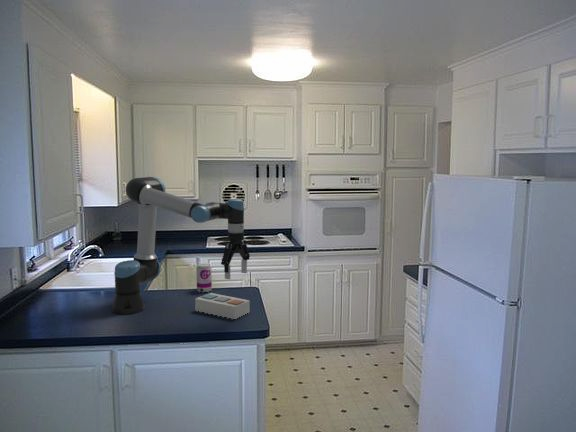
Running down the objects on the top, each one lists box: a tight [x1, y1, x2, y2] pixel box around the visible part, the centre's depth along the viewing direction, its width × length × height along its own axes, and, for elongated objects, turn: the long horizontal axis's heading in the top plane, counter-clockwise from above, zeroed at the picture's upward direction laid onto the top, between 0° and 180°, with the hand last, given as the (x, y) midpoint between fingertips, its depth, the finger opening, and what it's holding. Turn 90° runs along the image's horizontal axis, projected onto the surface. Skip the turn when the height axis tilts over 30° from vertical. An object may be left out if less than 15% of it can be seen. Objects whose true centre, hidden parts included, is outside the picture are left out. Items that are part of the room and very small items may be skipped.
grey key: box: [214, 297, 230, 303], centre depth 235 cm, size 6×6×4 cm
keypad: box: [194, 292, 251, 320], centre depth 235 cm, size 12×24×6 cm, turn 59°
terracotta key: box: [227, 299, 244, 305], centre depth 231 cm, size 6×6×4 cm
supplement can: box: [196, 263, 213, 293], centre depth 270 cm, size 8×8×15 cm
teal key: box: [202, 293, 217, 300], centre depth 239 cm, size 6×6×4 cm
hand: (236, 275), depth 231 cm, fingers open, 13 cm apart
